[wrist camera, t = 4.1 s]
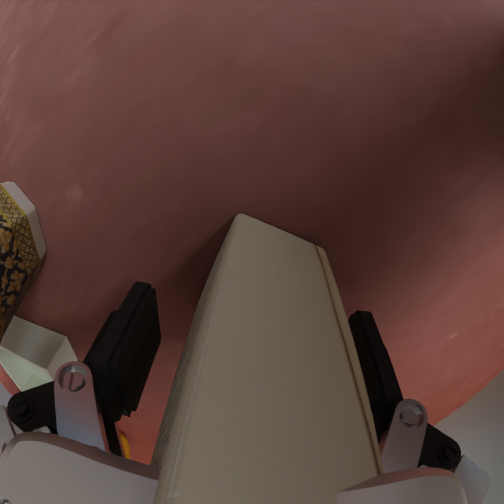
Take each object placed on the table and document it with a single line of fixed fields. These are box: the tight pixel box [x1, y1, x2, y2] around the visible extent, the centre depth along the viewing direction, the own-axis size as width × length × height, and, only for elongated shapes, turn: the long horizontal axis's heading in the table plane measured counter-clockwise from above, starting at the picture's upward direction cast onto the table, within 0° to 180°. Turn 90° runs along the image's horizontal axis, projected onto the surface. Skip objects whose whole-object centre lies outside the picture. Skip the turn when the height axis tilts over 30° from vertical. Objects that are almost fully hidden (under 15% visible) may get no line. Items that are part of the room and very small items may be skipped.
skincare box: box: [150, 214, 383, 504], centre depth 8 cm, size 6×4×12 cm
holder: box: [0, 315, 79, 391], centre depth 17 cm, size 9×9×4 cm
